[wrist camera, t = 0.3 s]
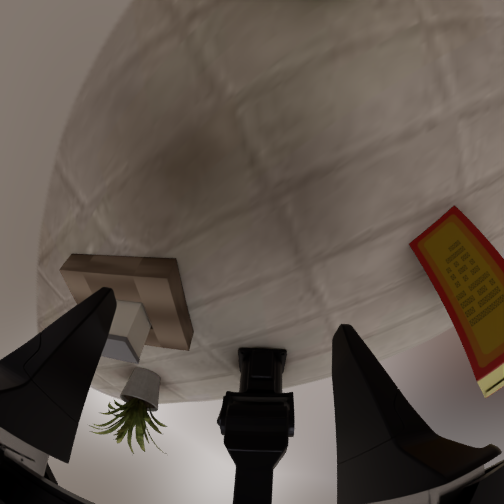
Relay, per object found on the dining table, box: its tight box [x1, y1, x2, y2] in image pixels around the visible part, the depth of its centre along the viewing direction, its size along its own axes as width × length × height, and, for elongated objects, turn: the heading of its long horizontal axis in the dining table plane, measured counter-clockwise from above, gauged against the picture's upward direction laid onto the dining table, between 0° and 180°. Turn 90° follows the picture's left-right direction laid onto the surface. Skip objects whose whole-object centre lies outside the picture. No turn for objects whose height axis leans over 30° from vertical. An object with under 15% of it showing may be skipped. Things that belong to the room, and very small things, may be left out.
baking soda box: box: [409, 205, 504, 398], centre depth 18 cm, size 10×6×16 cm
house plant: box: [93, 368, 166, 452], centre depth 37 cm, size 14×14×16 cm
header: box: [60, 254, 193, 351], centre depth 29 cm, size 12×14×3 cm
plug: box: [101, 300, 151, 364], centre depth 27 cm, size 4×6×7 cm
